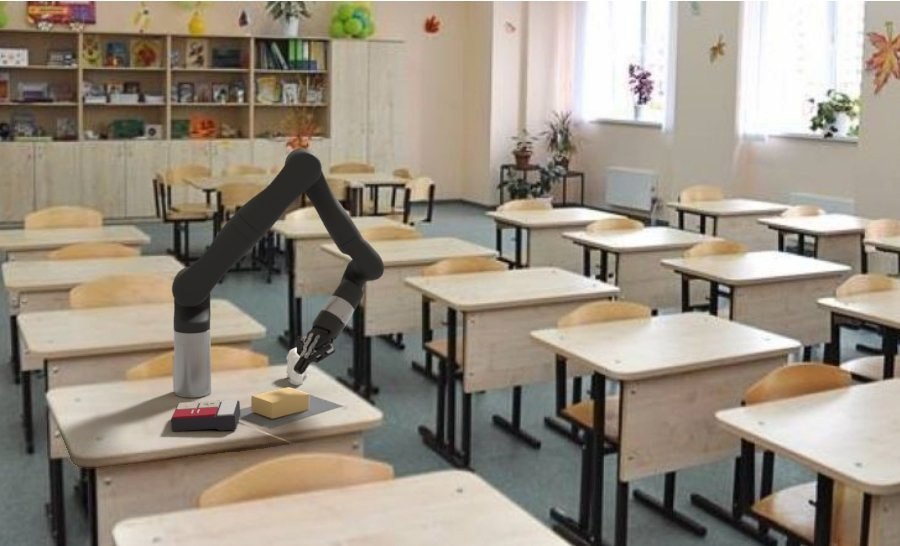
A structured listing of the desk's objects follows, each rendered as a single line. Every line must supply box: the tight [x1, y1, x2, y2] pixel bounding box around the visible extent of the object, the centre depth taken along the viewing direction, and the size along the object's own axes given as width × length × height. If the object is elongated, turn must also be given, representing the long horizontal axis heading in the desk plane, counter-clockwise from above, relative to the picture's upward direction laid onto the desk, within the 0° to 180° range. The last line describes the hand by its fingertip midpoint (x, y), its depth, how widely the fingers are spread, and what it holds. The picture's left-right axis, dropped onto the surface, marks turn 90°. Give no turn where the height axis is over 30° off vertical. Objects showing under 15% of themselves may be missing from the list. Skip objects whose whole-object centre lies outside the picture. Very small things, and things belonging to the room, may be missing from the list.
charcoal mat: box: [239, 394, 343, 429], centre depth 267 cm, size 16×24×1 cm, turn 139°
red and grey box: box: [170, 399, 241, 432], centre depth 256 cm, size 11×4×15 cm
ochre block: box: [250, 386, 311, 419], centre depth 265 cm, size 8×4×12 cm
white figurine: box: [286, 346, 310, 386], centre depth 291 cm, size 6×8×12 cm
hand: (297, 372), depth 268 cm, fingers closed
